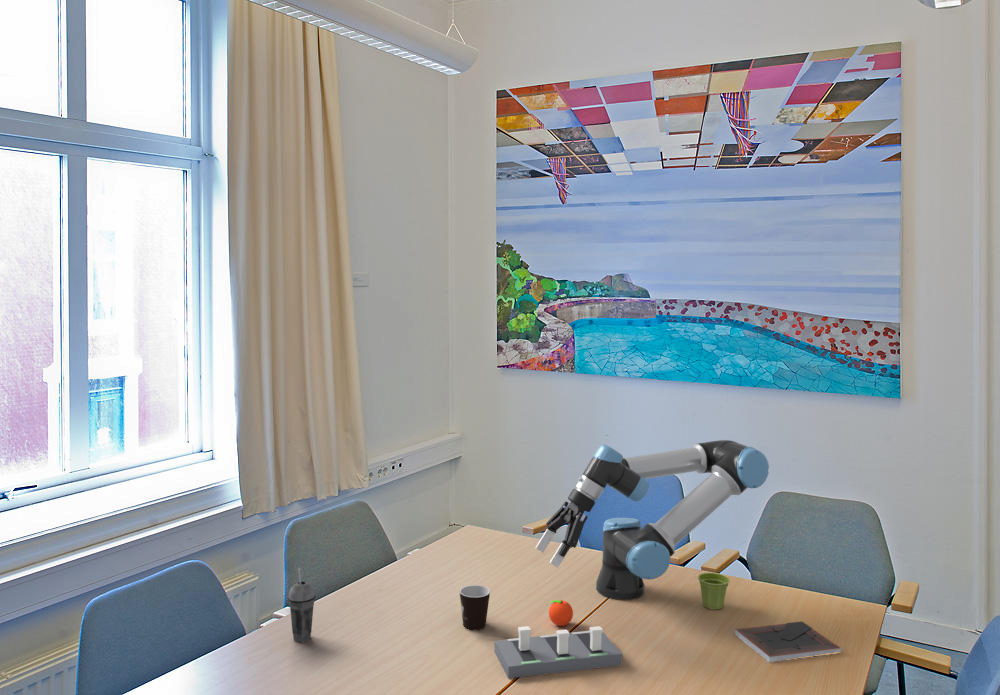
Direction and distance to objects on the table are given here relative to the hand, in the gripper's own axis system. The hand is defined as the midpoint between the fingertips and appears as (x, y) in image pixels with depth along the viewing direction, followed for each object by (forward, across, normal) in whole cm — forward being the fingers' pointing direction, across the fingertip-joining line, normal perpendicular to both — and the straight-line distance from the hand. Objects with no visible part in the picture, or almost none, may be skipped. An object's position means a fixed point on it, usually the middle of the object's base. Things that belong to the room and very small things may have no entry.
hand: (546, 557), depth 223 cm
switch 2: (+10, +27, +13) cm, 31 cm away
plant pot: (-14, +1, +54) cm, 56 cm away
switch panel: (+18, +23, +7) cm, 30 cm away
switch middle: (+15, +27, +5) cm, 31 cm away
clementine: (+14, +4, +13) cm, 19 cm away
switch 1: (+20, +23, -2) cm, 30 cm away
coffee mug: (+26, -2, -7) cm, 27 cm away
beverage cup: (+53, -3, -47) cm, 71 cm away
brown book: (-16, +28, +61) cm, 69 cm away
